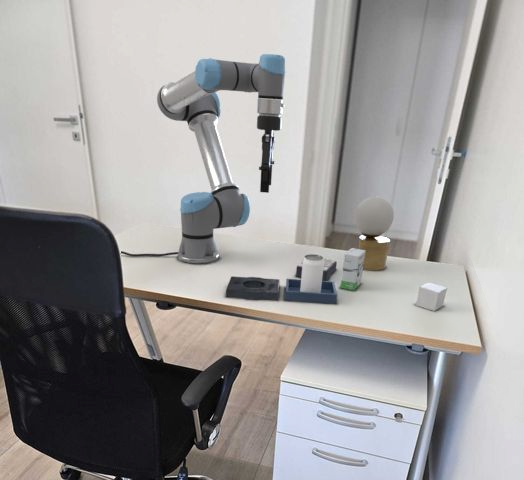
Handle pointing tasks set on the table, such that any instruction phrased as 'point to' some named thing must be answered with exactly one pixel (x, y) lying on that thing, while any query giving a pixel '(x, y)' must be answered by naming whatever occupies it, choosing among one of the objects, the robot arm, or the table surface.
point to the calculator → (327, 269)
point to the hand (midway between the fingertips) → (265, 188)
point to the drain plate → (260, 290)
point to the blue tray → (325, 296)
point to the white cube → (431, 296)
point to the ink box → (352, 268)
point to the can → (312, 273)
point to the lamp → (374, 230)
